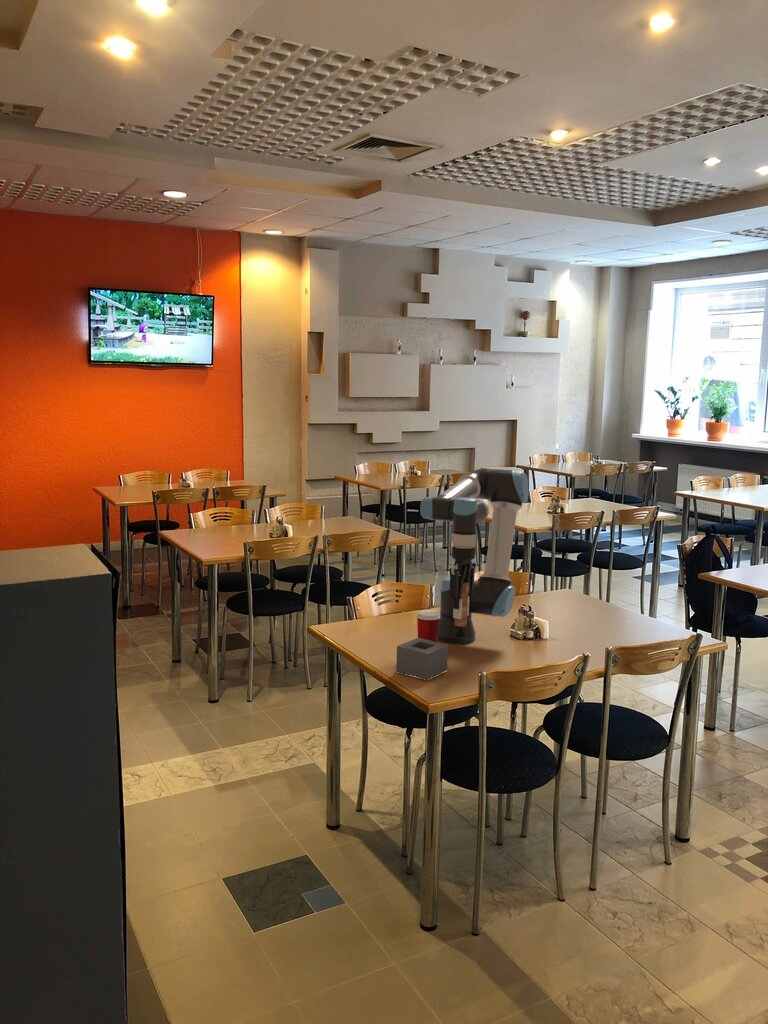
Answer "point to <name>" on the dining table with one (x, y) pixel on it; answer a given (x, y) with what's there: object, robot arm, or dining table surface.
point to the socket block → (422, 658)
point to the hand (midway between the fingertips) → (460, 616)
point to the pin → (463, 606)
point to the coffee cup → (428, 624)
